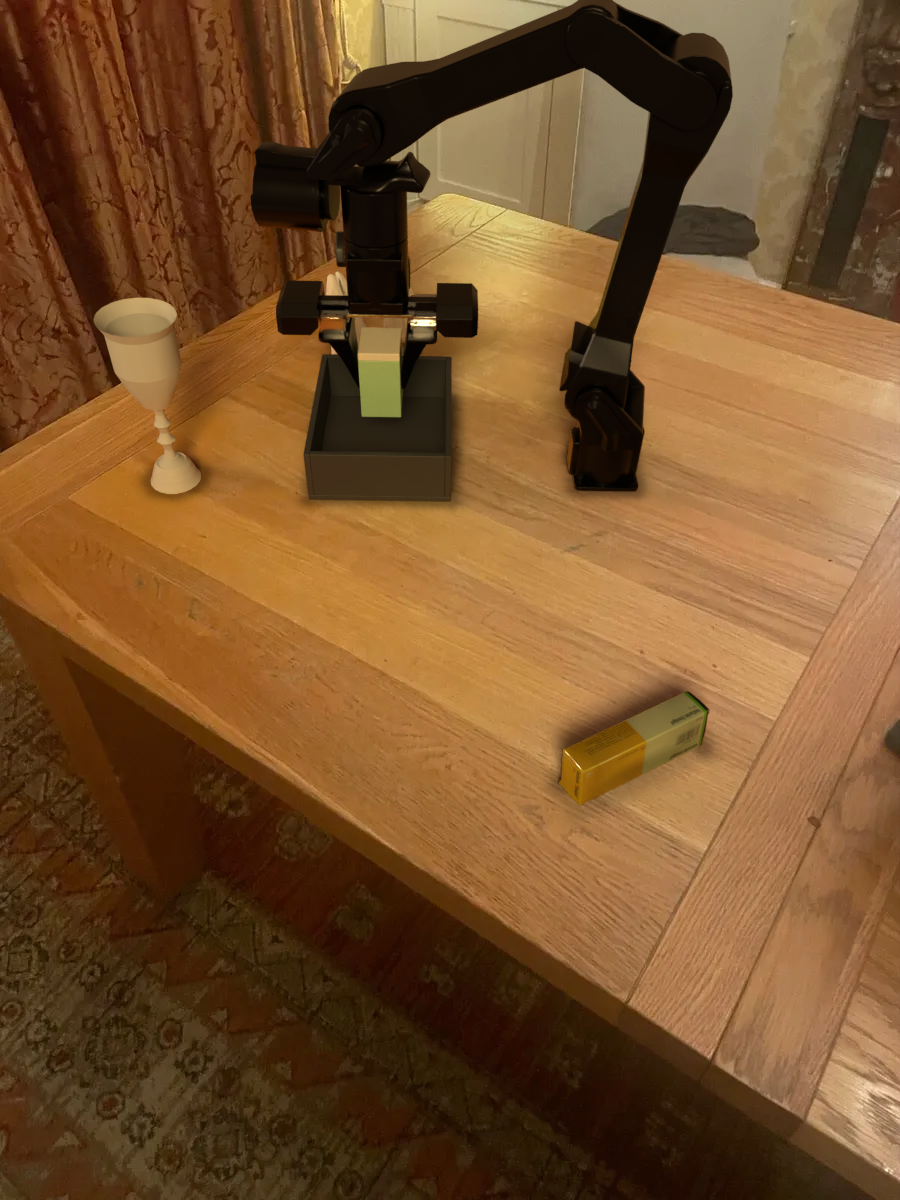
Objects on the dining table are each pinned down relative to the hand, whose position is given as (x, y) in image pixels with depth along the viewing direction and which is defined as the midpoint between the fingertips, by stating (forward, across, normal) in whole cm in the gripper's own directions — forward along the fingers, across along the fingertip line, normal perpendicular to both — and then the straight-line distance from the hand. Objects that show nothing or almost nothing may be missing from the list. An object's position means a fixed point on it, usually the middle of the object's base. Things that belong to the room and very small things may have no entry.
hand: (382, 386), depth 92 cm
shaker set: (+8, +2, -21) cm, 22 cm away
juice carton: (+2, 0, 0) cm, 2 cm away
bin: (+8, 0, 0) cm, 8 cm away
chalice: (+8, +21, +6) cm, 23 cm away
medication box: (+8, -21, +40) cm, 46 cm away
